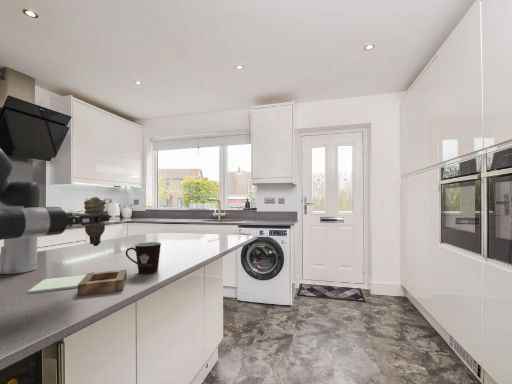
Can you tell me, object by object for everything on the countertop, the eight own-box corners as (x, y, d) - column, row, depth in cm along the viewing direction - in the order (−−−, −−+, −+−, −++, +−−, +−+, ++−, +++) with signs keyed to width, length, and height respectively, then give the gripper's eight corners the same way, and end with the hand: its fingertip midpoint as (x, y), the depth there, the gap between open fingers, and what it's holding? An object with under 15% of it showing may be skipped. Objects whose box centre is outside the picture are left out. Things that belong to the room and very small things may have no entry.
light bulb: (94, 247, 76) (95, 196, 76) (78, 247, 77) (79, 197, 77) (108, 244, 82) (109, 197, 82) (93, 244, 83) (94, 197, 83)
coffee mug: (166, 270, 95) (166, 242, 96) (147, 276, 88) (147, 246, 88) (143, 267, 100) (143, 241, 101) (123, 272, 92) (123, 244, 93)
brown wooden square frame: (77, 296, 70) (77, 284, 70) (87, 283, 81) (87, 273, 81) (122, 290, 74) (123, 279, 74) (126, 278, 85) (126, 269, 85)
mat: (27, 293, 72) (27, 291, 72) (44, 281, 83) (44, 279, 84) (78, 287, 77) (78, 285, 77) (87, 276, 88) (87, 274, 88)
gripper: (56, 207, 64) (118, 205, 79) (25, 206, 70) (88, 205, 85) (56, 238, 63) (118, 230, 79) (24, 234, 69) (87, 228, 85)
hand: (102, 217), depth 82 cm, fingers closed on light bulb, 5 cm apart
